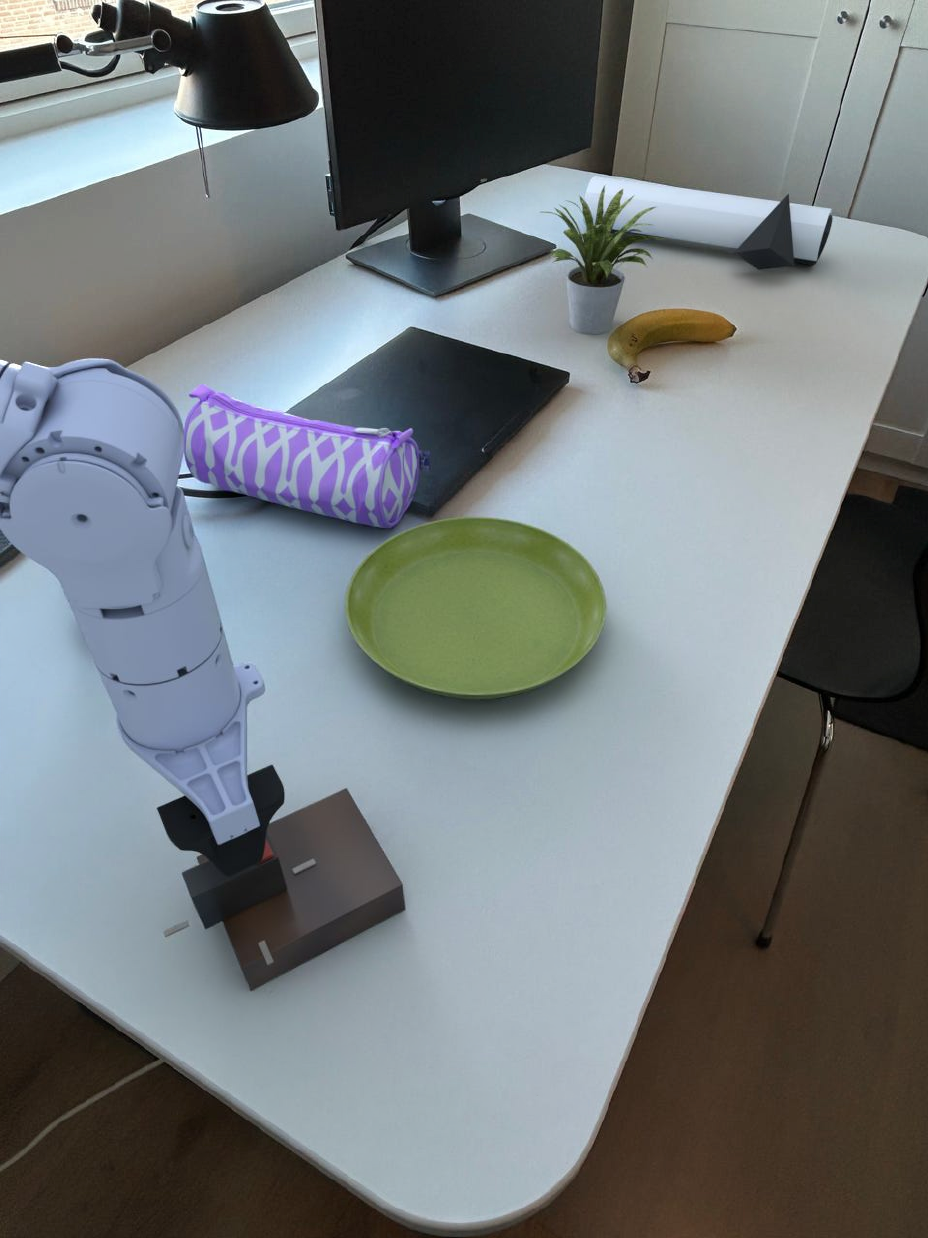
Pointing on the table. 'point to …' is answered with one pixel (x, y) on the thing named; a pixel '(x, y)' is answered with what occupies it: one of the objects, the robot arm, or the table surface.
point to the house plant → (598, 264)
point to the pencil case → (302, 460)
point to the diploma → (720, 221)
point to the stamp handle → (233, 887)
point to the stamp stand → (314, 890)
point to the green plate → (475, 607)
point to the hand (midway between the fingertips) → (219, 811)
